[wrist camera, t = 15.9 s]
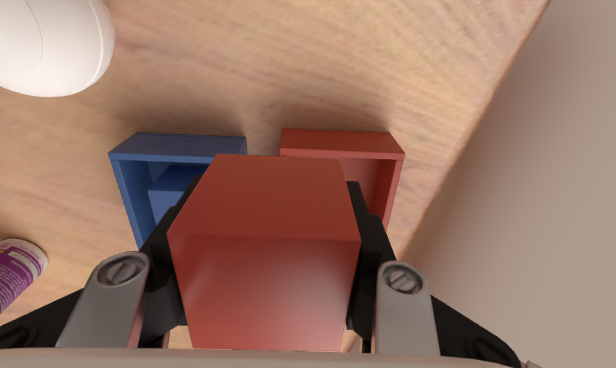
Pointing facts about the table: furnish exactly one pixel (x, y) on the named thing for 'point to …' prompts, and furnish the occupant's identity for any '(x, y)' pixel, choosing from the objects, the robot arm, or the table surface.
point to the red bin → (354, 161)
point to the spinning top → (54, 45)
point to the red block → (266, 254)
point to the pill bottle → (18, 268)
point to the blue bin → (160, 167)
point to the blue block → (171, 188)
